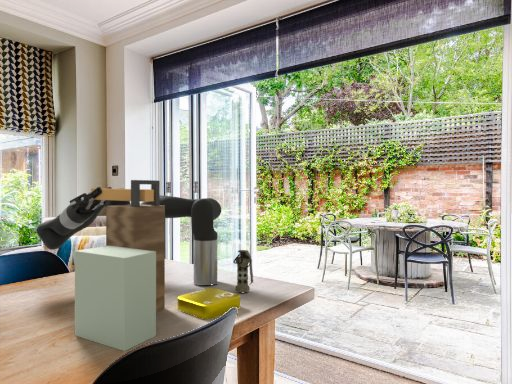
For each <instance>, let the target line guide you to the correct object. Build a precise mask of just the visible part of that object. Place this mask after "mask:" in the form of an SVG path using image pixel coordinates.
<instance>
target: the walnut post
mask: <svg viewBox="0 0 512 384" xmlns="http://www.w3.org/2000/svg"><path fill="white" fill-rule="evenodd" d="M165 223H166V218H165V205H160V206H151V205H141V203H140V207H131V205H115V206H105V246H116V247H124V248H132V249H140V250H148V251H156V312H158V310H159V311H162V310H163V308H164V309H165V307H166V306H165V304H166V302H165V298H166V297H165V296H166V295H165V291H166V289H165V288H166V286H165V285H166V283H165V277H166V276H165V273H166V270H165V267H166V265H165V263H166V260H165V259H166V257H165V256H166V252H165V251H166V248H165V247H166V246H165V245H166V244H165V243H166V241H165V240H166V238H165V237H166V235H165V234H166V224H165Z"/></svg>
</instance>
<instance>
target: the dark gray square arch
mask: <svg viewBox="0 0 512 384" xmlns="http://www.w3.org/2000/svg"><path fill="white" fill-rule="evenodd" d="M141 185H151V186H150V190H154V201H151V206H160V190H161V189H160V187H161V186H160V185H161V184H160V180H153V179H152V180H151V179H149V180H148V179H147V180H146V179H145V180H143V179H130V189H131V201H130V204H131V207H140V204H141V201H140V189H141V187H140V186H141Z"/></svg>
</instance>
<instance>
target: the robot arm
mask: <svg viewBox="0 0 512 384" xmlns="http://www.w3.org/2000/svg"><path fill="white" fill-rule="evenodd" d="M94 189H95V190H94V191H92V192H91V191H90V192H88V193H86V192H84V193H82V194H80V195H78V196H76V197H74V198H73V199H70V200H69V204H68V205H67V207H65V208H64V209H63V210H62V212H61V213H59V214H58V215H57V217H54V218H52V219H50V220H46V221H44V222H42V223H40V224H39V225H37V228H36V229H35V231H36V234H37V236H38V238H39V239H40V240H41V241H42V243H43V245H44V246H45V247H46V248H47V249H49V250H51V251H52V250H54V251H55V250H57V249H60V248H61V247H62V246H63V245H64V244H65V243H66V242H67V241H68V240H69V239H70V238H71V237H72V236H74V235H75V234H77V233H78V232H81V231H82V230H84V229H86V228H88V227H89V226H90V225H92V224H93V223H94V221H95V220H96V219H97V217H98V216H99V214H100V213H101V211H102V210H103V209H104V208H106V206H115V205H131V201H118V200H95V199H94V198H97V197H98V196H99V195H100V194H101V193H102V190H101V189H102V187H101V186H98V187H96V188H94ZM106 189H113V188H112V187H111V186H108V187H107V188H106ZM115 189H125V188H123V187H117V188H115ZM140 204H141V205H151V201H148V202H140ZM160 205H165V219H177V218H190V220H191V222H190V225H191V232H192V236H193V284H194V285H195V284H197V285H196V286H198V285H211V284H217V285H218V236H219V235H218V232H217V231H216V230H215V228H214V220H217V219H218V218H219V217H220V216H221V213H222V206H221V204H220V202H219V201H217V200H216V199H214V198H211V197H210V198H209V197H207V198H206V197H205V198H196V199H193V198H186V197H185V198H184V197H179V196H178V197H177V196H172V195H171V196H170V195H162V194H161V195H160ZM211 286H212V285H211Z"/></svg>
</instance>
